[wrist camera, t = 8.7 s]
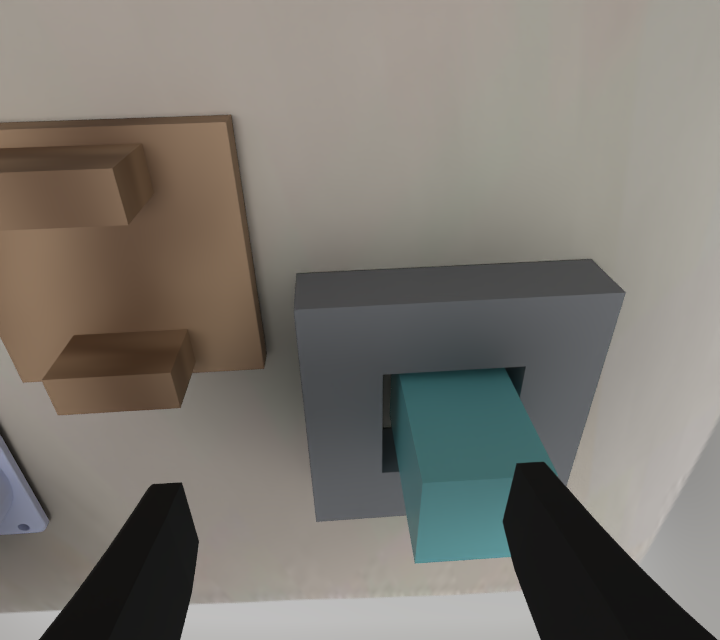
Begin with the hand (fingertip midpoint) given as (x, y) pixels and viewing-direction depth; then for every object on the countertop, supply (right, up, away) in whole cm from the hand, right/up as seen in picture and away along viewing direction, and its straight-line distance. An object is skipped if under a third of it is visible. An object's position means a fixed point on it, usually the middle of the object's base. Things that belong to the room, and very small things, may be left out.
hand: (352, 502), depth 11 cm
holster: (-8, +6, +6) cm, 12 cm away
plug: (+4, +2, +11) cm, 11 cm away
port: (+3, +1, +11) cm, 11 cm away
